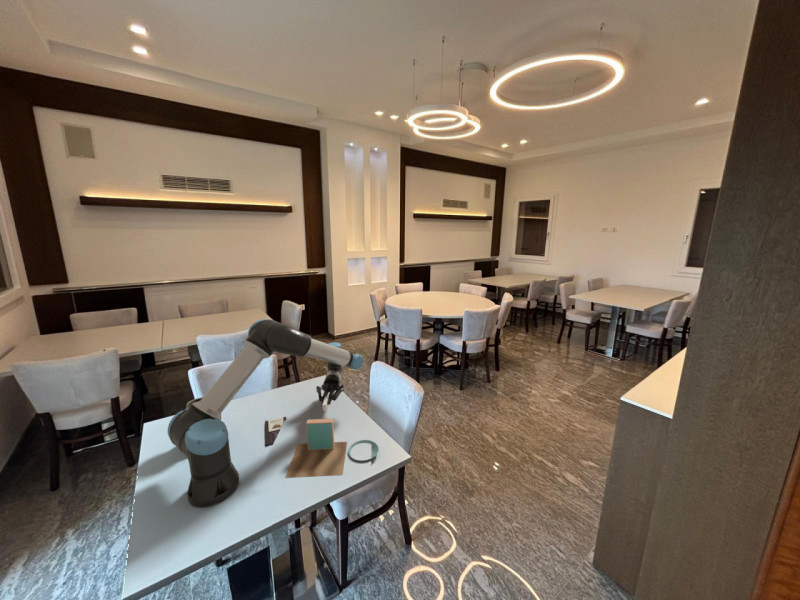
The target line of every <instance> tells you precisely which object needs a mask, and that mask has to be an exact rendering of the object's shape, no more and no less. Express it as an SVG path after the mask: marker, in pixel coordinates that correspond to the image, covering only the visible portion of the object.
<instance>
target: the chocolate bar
mask: <svg viewBox="0 0 800 600" xmlns="http://www.w3.org/2000/svg"><path fill="white" fill-rule="evenodd" d="M285 421H287V416H282V417H279V418H274V419H269V420H265V421H264V425H265V428H264V429H265V430H264V431H265V447H268V446H272V445H274V443H275V442H276V440H277V438H278V435H279V433H280V431H281V429H282V427H283V425H284V423H285Z"/></svg>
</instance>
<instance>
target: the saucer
mask: <svg viewBox="0 0 800 600" xmlns="http://www.w3.org/2000/svg"><path fill="white" fill-rule="evenodd" d="M360 444H369V445H371V453H370V458H368V459H363V460H359V459H356V458H354V457H353V456H352V453H351V451H352V449H353V448H354V447H355V446H358V445H360ZM347 451H348V455H349V457H350V459H353V460H354V461H357V462H367V461H370V460H371V459H373V458H375V457H376V455H378V453H379V451H380V450H379V445H378V444H377V443H376V442H374V441H372V440H369V439H362V440H358V441H356V442H354V443H352V444H351V445H350V446H349V448H348V450H347Z"/></svg>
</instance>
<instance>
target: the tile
mask: <svg viewBox="0 0 800 600" xmlns="http://www.w3.org/2000/svg"><path fill="white" fill-rule="evenodd" d="M305 425H306V426H305V427H306V439H307V443H308V450H326V449H334V442H335V432H334V431H335V430H334V428H335V427H334V426H335V425H334V418H317V419H315V418H314V419H307V420H306V424H305Z"/></svg>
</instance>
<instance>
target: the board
mask: <svg viewBox="0 0 800 600" xmlns="http://www.w3.org/2000/svg"><path fill="white" fill-rule="evenodd" d="M296 445H297V446H296V448H295V450H294V453H293V456H292V458H291V461H290V463H289V466H288V469H287V472H286V475H285V479H289V478H291V479H292V478H309V477H329V476H330V477H331V476H333V477H334V476H343V474H344V466H345V461H346V453H347V446H348V441H334V449H326V450H308V442H306V443H297V444H296Z"/></svg>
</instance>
